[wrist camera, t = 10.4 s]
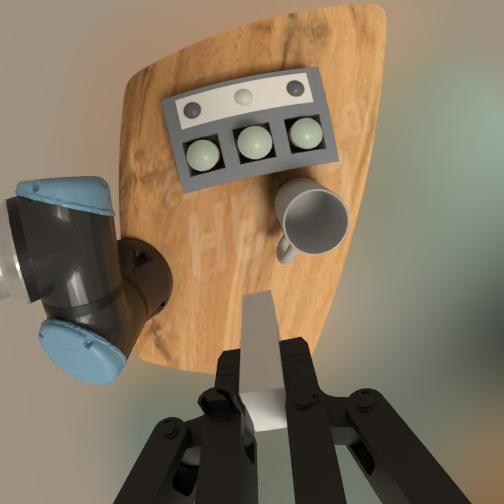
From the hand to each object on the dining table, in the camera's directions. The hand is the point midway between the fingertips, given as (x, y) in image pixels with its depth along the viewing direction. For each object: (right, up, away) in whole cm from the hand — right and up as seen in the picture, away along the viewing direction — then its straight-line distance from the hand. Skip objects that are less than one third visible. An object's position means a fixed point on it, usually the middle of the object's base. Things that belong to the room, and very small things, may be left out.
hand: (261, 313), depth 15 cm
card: (-2, +24, +17) cm, 29 cm away
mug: (+6, +9, +28) cm, 30 cm away
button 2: (-7, +18, +23) cm, 30 cm away
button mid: (0, +18, +21) cm, 28 cm away
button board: (-1, +22, +23) cm, 32 cm away
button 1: (+7, +20, +22) cm, 31 cm away
